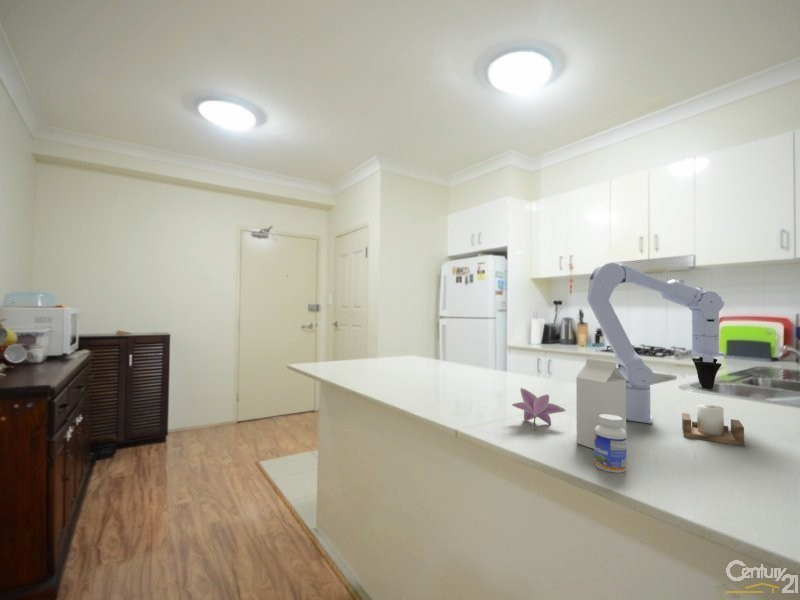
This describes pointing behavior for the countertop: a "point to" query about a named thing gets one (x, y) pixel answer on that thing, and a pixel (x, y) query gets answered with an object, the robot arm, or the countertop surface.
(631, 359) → the robot arm
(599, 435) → the pill bottle
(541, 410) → the lily
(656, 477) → the countertop surface
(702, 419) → the paper roll
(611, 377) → the milk carton
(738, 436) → the holder
